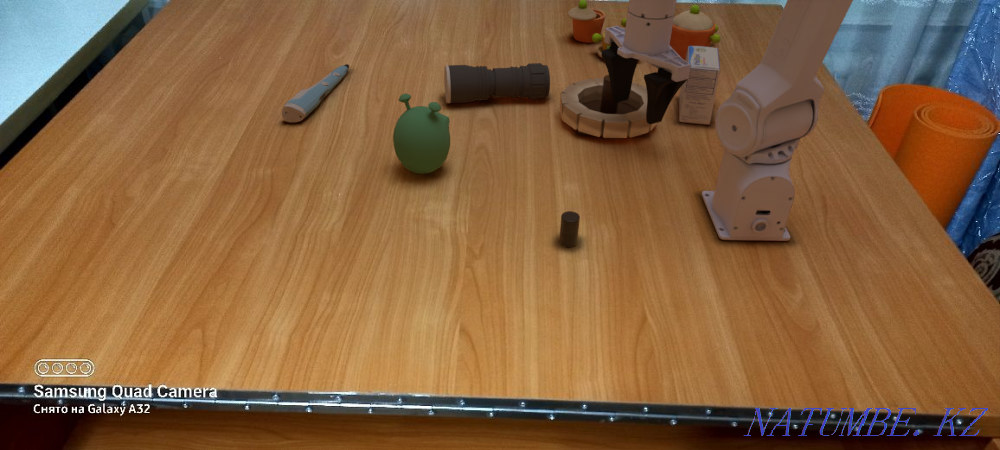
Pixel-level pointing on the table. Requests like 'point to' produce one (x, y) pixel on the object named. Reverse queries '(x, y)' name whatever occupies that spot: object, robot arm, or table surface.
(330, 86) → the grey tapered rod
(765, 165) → the robot arm
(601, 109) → the stand
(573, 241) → the low peg
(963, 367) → the table surface
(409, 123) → the alien toy
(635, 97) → the ring
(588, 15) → the toy tea set
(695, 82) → the medicine box
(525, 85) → the flashlight
